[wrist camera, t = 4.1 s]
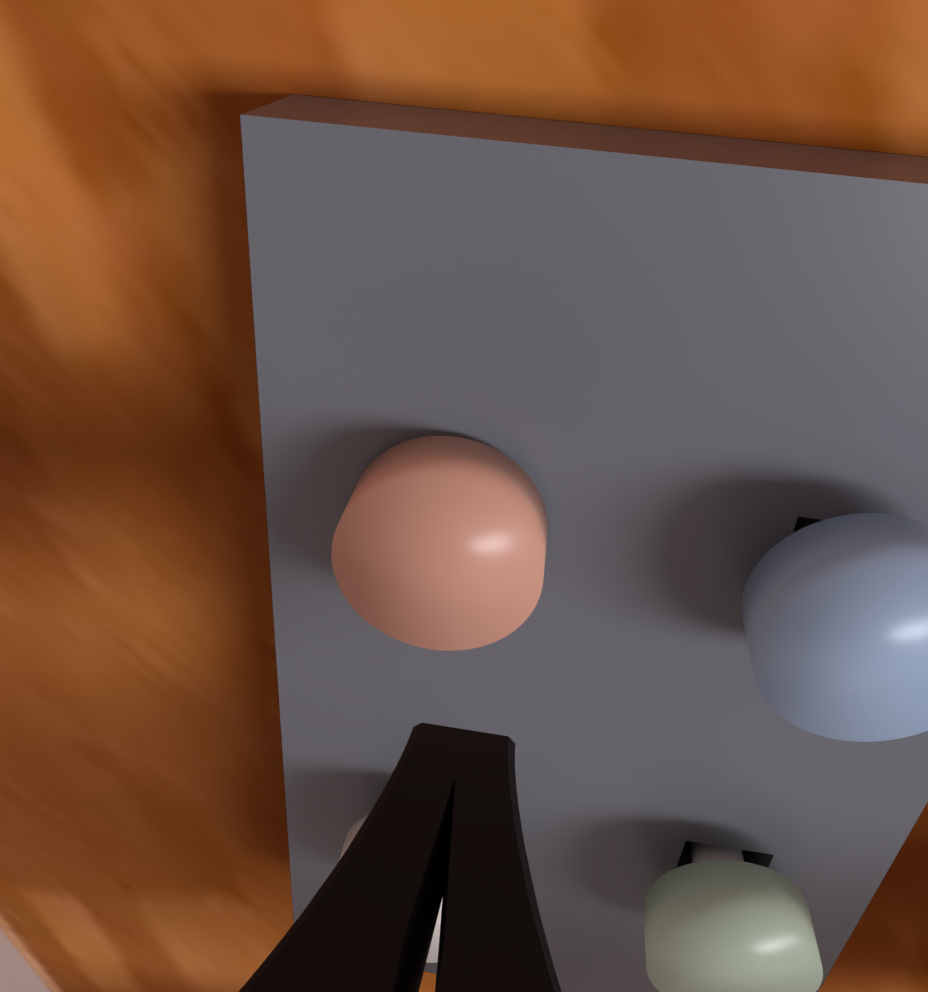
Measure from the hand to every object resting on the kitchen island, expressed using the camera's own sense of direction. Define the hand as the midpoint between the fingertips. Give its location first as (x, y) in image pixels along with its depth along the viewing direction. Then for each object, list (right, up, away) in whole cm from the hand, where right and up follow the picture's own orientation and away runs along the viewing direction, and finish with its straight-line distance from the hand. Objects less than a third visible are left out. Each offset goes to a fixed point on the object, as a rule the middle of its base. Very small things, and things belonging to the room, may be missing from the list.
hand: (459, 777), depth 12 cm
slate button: (+7, +3, +4) cm, 9 cm away
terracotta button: (0, +5, +5) cm, 7 cm away
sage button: (+6, -4, +9) cm, 12 cm away
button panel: (+3, +1, +8) cm, 8 cm away
